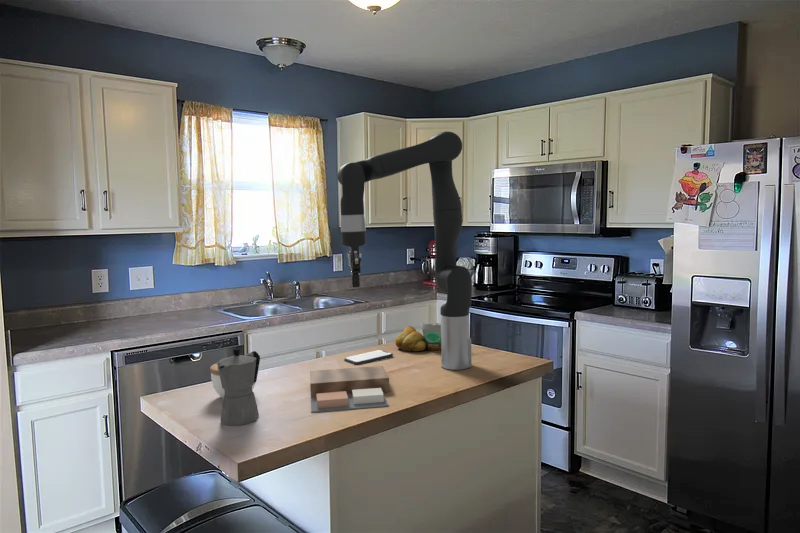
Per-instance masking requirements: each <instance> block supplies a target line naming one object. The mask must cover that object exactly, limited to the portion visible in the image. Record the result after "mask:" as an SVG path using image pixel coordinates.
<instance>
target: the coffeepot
mask: <svg viewBox="0 0 800 533" xmlns="http://www.w3.org/2000/svg"><path fill="white" fill-rule="evenodd" d="M232 351H233V355H232V356H228V357H224V358H221V359H220V360H218V362H216V363H217V365H218V370H219V375H220V379H221V384H222V388H223V389H224V390H225V395H224V397H223V399H222V407H221V415H220V422H221V423H222V424H223V425H225V426H230V427H232V426H233V427H238V426H243V425H244V426H245V425H249V424H251V423H253V422H256V421H257V420H258V418H259V416H260V413H259V409H258V404H257V401H256V395H255V392H254V391H253V390H252V386H253V384H254V383H255V382H256V383H257V380H258V376H259V375H258V374H259V367H260V361H261V357H260V356H261V355H260V354H259V353H258V352H257V351H255V350H254V351H251V352H248V353H245V354H244V355H242V354H240V351H241V349H240V348H237V347H236V348H233V349H232Z"/></svg>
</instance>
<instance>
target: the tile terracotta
mask: <svg viewBox="0 0 800 533" xmlns="http://www.w3.org/2000/svg"><path fill="white" fill-rule="evenodd" d="M316 397H317V408H327V407H338V406H348V396H347V393H346V391H343V392H330V393H318V394H316Z"/></svg>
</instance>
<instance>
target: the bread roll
mask: <svg viewBox="0 0 800 533" xmlns="http://www.w3.org/2000/svg"><path fill="white" fill-rule="evenodd" d="M394 344H395V346H396V347H397V348H398V349H400V350H404V351H406V350H407V352H412V351H413V352H422V351H424V350H425V348H426V343H425V342H424V337H423V333H422V334H421V332H419V331H417V329H416V328H415V327H414V326H411V325H410V326H407V327H405V328H404V330H403V331H402V332H401V333H399V334H398V335H396V338H395V342H394ZM411 350H412V351H411Z"/></svg>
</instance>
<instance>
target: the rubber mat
mask: <svg viewBox="0 0 800 533" xmlns="http://www.w3.org/2000/svg"><path fill="white" fill-rule="evenodd" d="M383 395H384V402H376V403H363V404H354V403H353V398H352V394H347V396H348V406H338V407H327V408H317V397H311V396H310V409H311V410H310V411H311V414H312V413H314V414H315V413H324V412H336V411H349V410H358V409H359V410H360V409H373V408H374V409H375V408H385V407H386V408H388V407H390V406H389V403H388V401H387V398H386V396H385V393H383Z"/></svg>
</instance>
